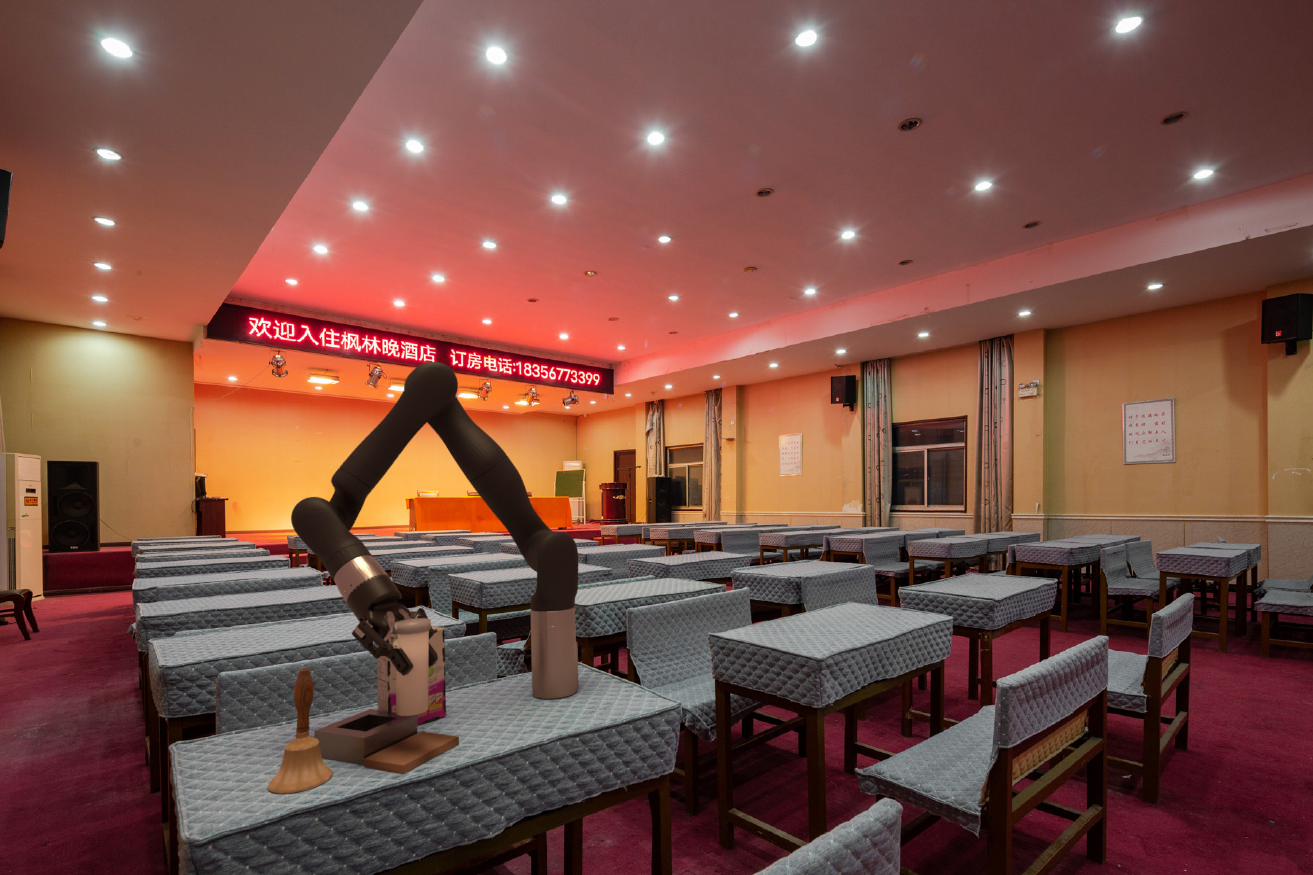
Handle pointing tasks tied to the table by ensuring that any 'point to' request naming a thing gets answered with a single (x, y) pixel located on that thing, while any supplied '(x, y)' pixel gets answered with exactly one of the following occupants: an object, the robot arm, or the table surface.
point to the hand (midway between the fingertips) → (421, 666)
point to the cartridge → (416, 681)
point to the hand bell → (301, 747)
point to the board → (411, 752)
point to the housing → (364, 735)
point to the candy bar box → (435, 682)
